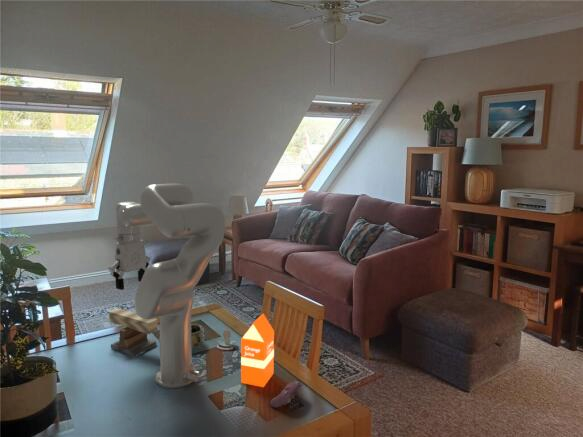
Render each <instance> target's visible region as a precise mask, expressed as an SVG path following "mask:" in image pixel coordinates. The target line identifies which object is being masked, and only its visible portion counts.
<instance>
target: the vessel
mask: <svg viewBox="0 0 583 437" xmlns="http://www.w3.org/2000/svg"><path fill="white" fill-rule="evenodd" d="M202 330H203V326H202V325H200V324H197V323H191V350H194V349H198V348H199V347H201V346H202V343H203V334H202Z"/></svg>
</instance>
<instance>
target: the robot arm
mask: <svg viewBox="0 0 583 437" xmlns="http://www.w3.org/2000/svg"><path fill="white" fill-rule="evenodd" d="M139 202H140V203H138V202H137V201H122V202H118V203H117V204H116V207H115V210H116V215H115V216H116V230H117V231H116V232H117V233H116V234H117V235H116V236H115V241H116V246H115V253H114V254H115V255H114V262H113V263H112V264H111V265H110V266H109V267H108V271H109V273H110V275H111V276H112V277H113V278H115V289H116V290H121V291H122V290H125V285H124V284H125V283H124V282H125V281H124V278H123V276H124V274H126V273H130V272H133V271H137V270H138V271H137V280H138V282H139V284H138V287H137V288H136V292H135V295H134V298H133V299H134V301H133V306H134V310H135V313H137V314H138V316H139V317H141V318H143V319H153V318H155V319H158V318H160V317H161V318H160V322H159V326H158V327H159V328H158V332H159V354H160V355H159V357H160V358H159V360H160V361H159V362H160V363H159V364H160V367H159V368H160V370H159V371H157V373H156V374H155V382H156V384H157V385H159V386H161V387H164V388H167V389H177V388H182V387H186V386H188V385H190V384H191V383H193V382H194V383H197V382H198V381H199V378H200V376H201V371H198V370H197V369H196V368H195V364H194V363H193V362H192V360H193V358H192V356H193V355H192V351H193V349H191V324H192V310H193V304H194V300H195V291H194V287H195V286H197V284H198V283H199V281H200V279H201V278H202V276H203V274H204V272H205V271H206V268H207V267H208V264H209V262H210V260H211V259H212V258H213V257H214V255H215V254H216V252H217V251H218V249H219V248H220V246H221V244H222V242H223V239H224V237H225V232H226V218H225V214H224V211H223V210H222V209H221V207H219V206H218V205H215V204H213V203H208V202H207V203H206V202H198V203H193V202H194V194H193V191H192V190H191V188H190V187H189V186H187V185H185V184H183V183H178V182H177V183H176V182H175V183H158V184H157V183H155V184H150V185H147V186H145V188H143V189H142V191H141V193H140V198H139ZM147 226H155V227H156V228H157V229H158V231H159V232H160V233H161V234H162V235H163V236H165V237H167V238H170V239H176V238H178V239H179V238H184V237H190V236H192V237H191V238H190V239H188V240H187V241H186V242H185V243H184V244H183V246H181V248H180V251H179V253H178V255H177V256H176V257H175V258H173V259H169V260H165V261H160V262H155V263H152V264H151V265H150V261H151V256H150V257H149V256H148V255H146V254H147V253H146V249H145V244H144V241H143V239H141V237H142V236H141V235H142V234H141V227H147Z"/></svg>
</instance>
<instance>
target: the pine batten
mask: <svg viewBox="0 0 583 437" xmlns="http://www.w3.org/2000/svg"><path fill="white" fill-rule="evenodd" d="M108 319H109V321H108V322H109V323H112V324H114V325H118V326H120V327H121V326H122V327H124V328H126V327H127V328H130V329H134V330H137V331H140V332H143V333H147V335H151V334H153V333H154V332H157V331H159V328H158V327H159V326H158V318H153V319H143V318H141V317H139V316H138V314H137V313H136V312H133V311H129V310H126V309H122V308H115V309H113V310H110V311H108Z"/></svg>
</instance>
